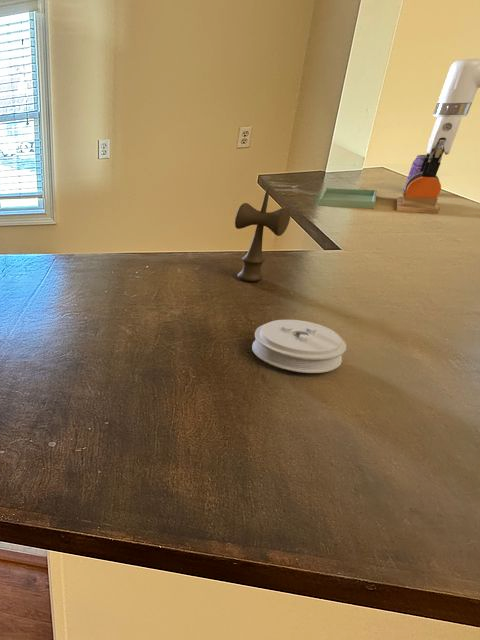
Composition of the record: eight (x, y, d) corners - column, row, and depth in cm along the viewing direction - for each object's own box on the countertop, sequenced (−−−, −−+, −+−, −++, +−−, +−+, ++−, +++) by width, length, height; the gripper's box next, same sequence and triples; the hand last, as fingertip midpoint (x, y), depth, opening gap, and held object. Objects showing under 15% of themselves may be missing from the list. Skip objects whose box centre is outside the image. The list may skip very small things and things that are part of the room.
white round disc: (245, 337, 85) (251, 311, 82) (327, 342, 81) (335, 316, 79) (257, 374, 75) (263, 346, 72) (351, 382, 71) (361, 352, 68)
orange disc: (401, 201, 150) (411, 175, 146) (434, 204, 146) (445, 177, 142) (401, 202, 149) (412, 175, 145) (434, 205, 145) (445, 177, 141)
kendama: (266, 288, 103) (287, 192, 93) (222, 278, 110) (238, 187, 100) (277, 280, 107) (299, 186, 97) (234, 271, 113) (250, 183, 103)
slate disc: (402, 198, 155) (410, 172, 151) (434, 198, 151) (443, 171, 147) (402, 198, 154) (410, 172, 151) (434, 199, 150) (443, 172, 146)
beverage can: (431, 192, 165) (445, 155, 159) (423, 196, 162) (437, 158, 156) (407, 190, 170) (420, 154, 164) (398, 193, 167) (411, 156, 161)
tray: (323, 194, 174) (325, 188, 173) (374, 196, 166) (376, 190, 165) (317, 205, 160) (319, 198, 159) (373, 208, 152) (375, 201, 151)
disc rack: (396, 200, 159) (400, 188, 157) (434, 202, 154) (439, 190, 152) (396, 211, 148) (400, 198, 146) (438, 213, 143) (442, 200, 141)
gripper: (472, 112, 127) (445, 179, 135) (465, 108, 139) (441, 170, 147) (436, 112, 131) (412, 178, 139) (432, 108, 143) (410, 169, 151)
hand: (427, 174), depth 143 cm, fingers open, 9 cm apart
